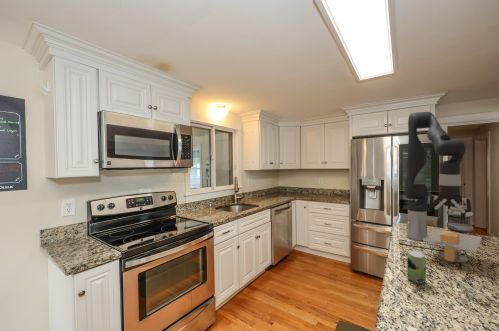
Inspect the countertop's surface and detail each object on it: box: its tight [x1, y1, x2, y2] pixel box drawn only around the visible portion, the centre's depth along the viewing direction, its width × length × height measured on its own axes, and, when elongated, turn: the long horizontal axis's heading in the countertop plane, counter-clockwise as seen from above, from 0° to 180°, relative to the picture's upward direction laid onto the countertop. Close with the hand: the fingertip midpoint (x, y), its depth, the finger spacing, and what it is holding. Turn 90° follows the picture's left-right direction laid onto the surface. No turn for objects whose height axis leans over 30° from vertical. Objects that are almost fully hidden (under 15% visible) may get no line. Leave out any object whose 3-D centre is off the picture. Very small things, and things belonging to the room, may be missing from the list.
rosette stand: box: [422, 228, 482, 264], centre depth 107 cm, size 18×20×13 cm
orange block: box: [440, 230, 459, 263], centre depth 104 cm, size 6×7×12 cm
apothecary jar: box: [446, 205, 474, 234], centre depth 137 cm, size 12×12×18 cm
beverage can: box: [406, 250, 427, 284], centre depth 91 cm, size 6×7×12 cm
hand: (449, 218), depth 104 cm, fingers open, 8 cm apart
